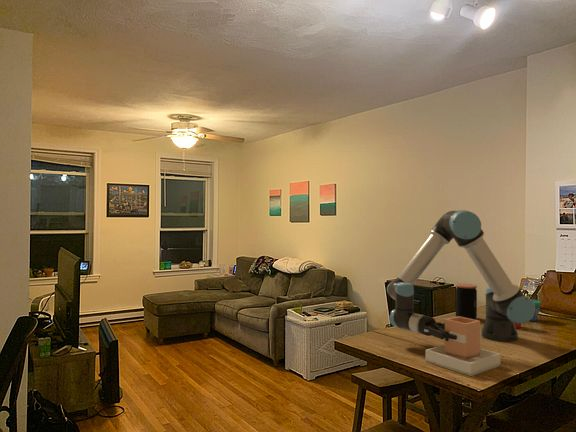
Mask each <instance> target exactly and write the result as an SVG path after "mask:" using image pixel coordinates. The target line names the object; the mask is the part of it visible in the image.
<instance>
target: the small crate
mask: <svg viewBox="0 0 576 432" xmlns="http://www.w3.org/2000/svg"><path fill="white" fill-rule="evenodd" d="M444 323H445V331H447V332H454V333H458V334H462V335H465V336H466V343H461V342H458V341H454V340H450V339H449V341H445V340H444V345H445V347H444V354H448V355H451V356H454V357H458V358H461V359H464V360H467V359H471V358H474V357H477V356H480V348H481V339H480V332H481V320H478V319H475V320H474V319H469V318H464V317H460V316H458V317H456V316H453V317H449V318H445V319H444Z"/></svg>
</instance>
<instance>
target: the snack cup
mask: <svg viewBox="0 0 576 432" xmlns="http://www.w3.org/2000/svg"><path fill="white" fill-rule="evenodd" d="M531 300H532V301H533V303H534V305H535V313H534V316H533V317H532V319H531V320H530V321H529V322H536V321H538V319H539V314H540V308H541V305H542V301H539V300H537V299H531Z"/></svg>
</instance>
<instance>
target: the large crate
mask: <svg viewBox="0 0 576 432" xmlns="http://www.w3.org/2000/svg"><path fill="white" fill-rule="evenodd" d="M444 347H445V344H442V345H438V346H435V347H431V348H427V349H425V362H426V363H428V364H432V365H435V366H437V367H441V368H444V369H447V370H449V371H450V370H451V371H452V372H456V373H459V374H463V375H465V376H468V377H474V376H477V375H479V374H482V373H485V372H488V371H489V370H490V371H491V370H493V369H496V368H498V367H501V353H498V352H496V351H491V350H487V349H483V348H481V347H480V356H477V357H474V358H471V359H467V360H464V359H461V358H458V357H454V356H451V355H448V354H444Z"/></svg>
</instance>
